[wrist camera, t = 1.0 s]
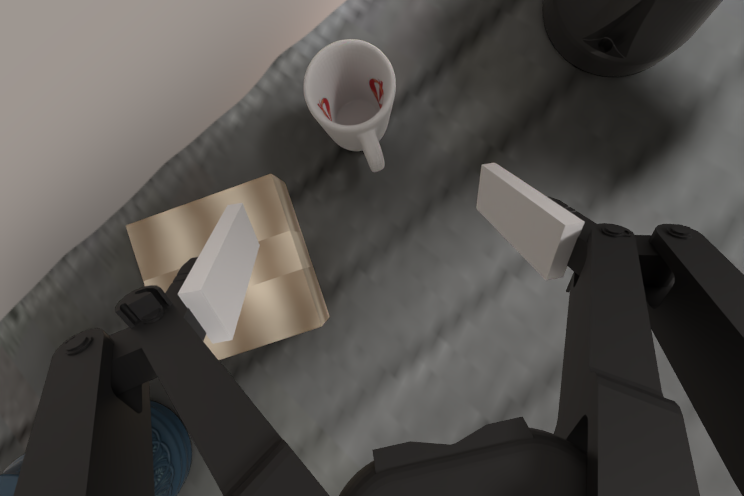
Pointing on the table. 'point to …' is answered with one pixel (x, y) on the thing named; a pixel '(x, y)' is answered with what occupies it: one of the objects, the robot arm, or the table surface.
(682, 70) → the table surface
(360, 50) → the cup
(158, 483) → the canister
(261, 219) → the opening block
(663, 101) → the table surface
